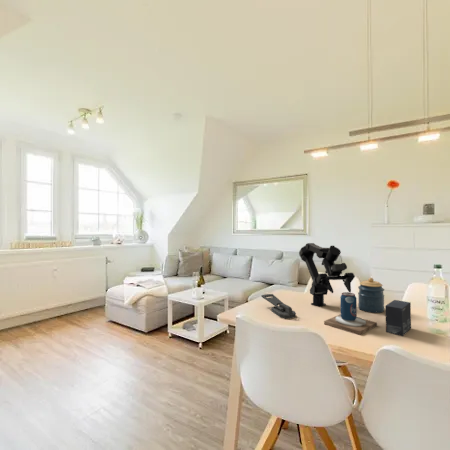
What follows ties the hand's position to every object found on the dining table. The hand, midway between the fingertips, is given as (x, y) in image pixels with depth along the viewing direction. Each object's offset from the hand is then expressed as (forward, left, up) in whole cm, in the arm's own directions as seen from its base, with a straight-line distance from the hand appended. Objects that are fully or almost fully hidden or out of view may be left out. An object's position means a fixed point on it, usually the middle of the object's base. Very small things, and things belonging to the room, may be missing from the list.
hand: (341, 292), depth 138 cm
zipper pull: (+14, -29, -14) cm, 35 cm away
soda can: (+5, +6, -11) cm, 13 cm away
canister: (-28, +2, -14) cm, 31 cm away
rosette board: (+4, +6, -14) cm, 16 cm away
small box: (-6, +23, -14) cm, 28 cm away
